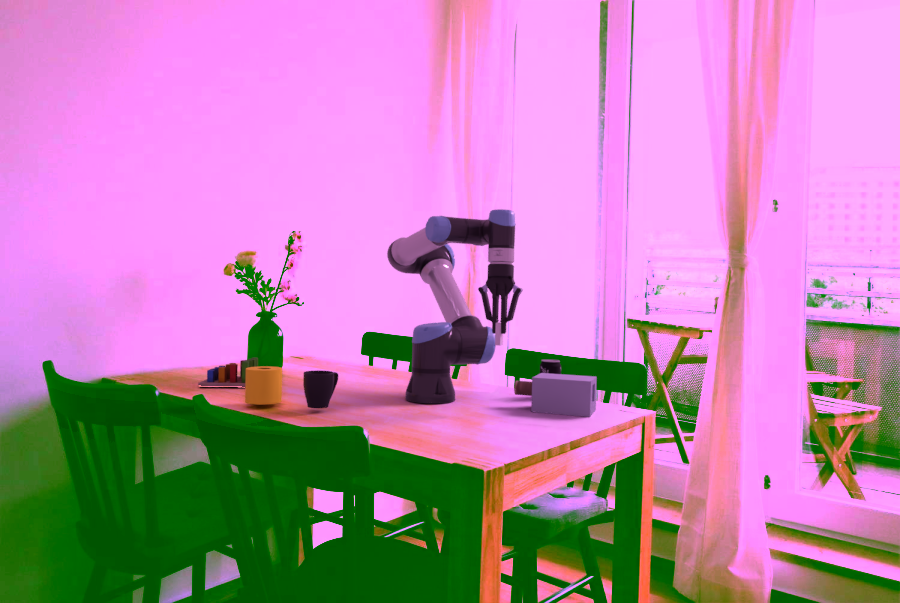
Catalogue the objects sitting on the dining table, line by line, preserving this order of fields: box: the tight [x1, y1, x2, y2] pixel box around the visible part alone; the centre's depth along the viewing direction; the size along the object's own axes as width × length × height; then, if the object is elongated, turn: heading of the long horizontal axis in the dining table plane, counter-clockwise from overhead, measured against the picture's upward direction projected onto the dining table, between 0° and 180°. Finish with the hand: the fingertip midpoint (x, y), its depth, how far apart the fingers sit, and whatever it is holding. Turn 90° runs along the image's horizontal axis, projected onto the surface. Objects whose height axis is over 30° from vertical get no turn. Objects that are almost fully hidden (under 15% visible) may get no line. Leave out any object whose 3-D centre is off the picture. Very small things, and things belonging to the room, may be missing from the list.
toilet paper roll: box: [244, 365, 283, 406], centre depth 191 cm, size 10×10×9 cm
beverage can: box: [539, 359, 562, 374], centre depth 210 cm, size 7×7×12 cm
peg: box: [513, 380, 532, 397], centre depth 191 cm, size 12×4×4 cm, turn 71°
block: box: [530, 372, 598, 418], centre depth 189 cm, size 16×12×10 cm
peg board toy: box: [197, 357, 259, 387], centre depth 226 cm, size 18×17×9 cm
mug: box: [303, 370, 339, 409], centre depth 186 cm, size 8×12×10 cm
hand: (498, 345), depth 195 cm, fingers closed
